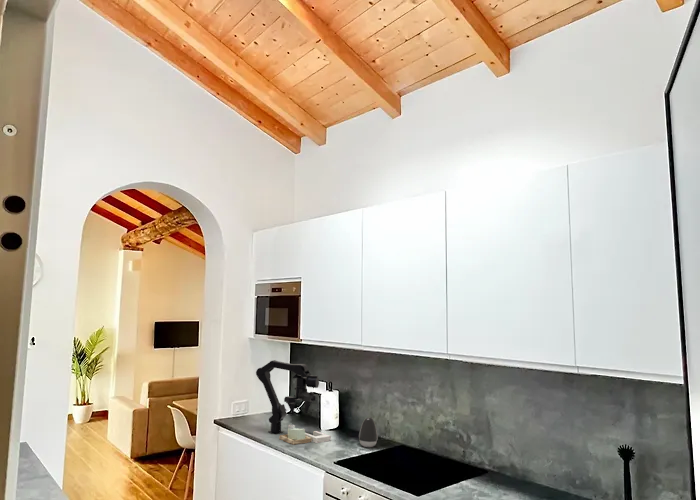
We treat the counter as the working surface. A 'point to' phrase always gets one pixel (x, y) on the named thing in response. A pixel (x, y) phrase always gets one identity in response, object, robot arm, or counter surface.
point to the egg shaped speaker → (368, 433)
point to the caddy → (295, 433)
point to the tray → (293, 441)
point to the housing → (318, 437)
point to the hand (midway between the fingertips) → (299, 413)
